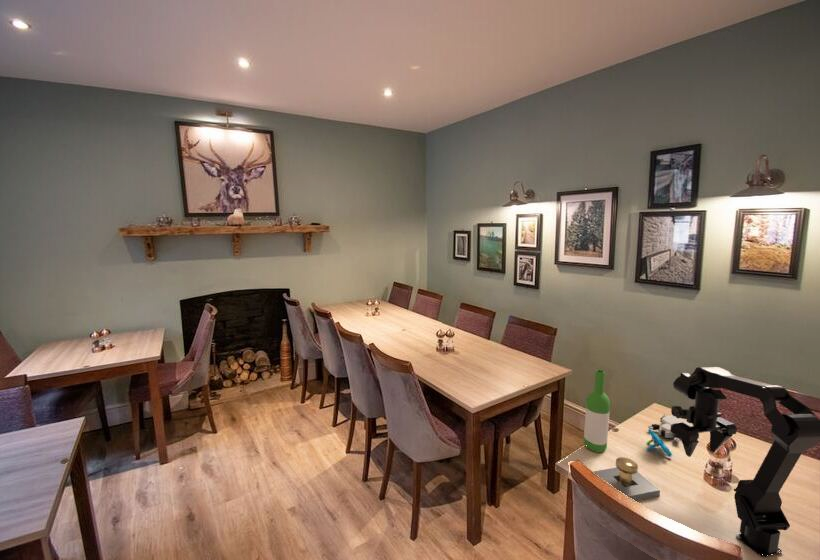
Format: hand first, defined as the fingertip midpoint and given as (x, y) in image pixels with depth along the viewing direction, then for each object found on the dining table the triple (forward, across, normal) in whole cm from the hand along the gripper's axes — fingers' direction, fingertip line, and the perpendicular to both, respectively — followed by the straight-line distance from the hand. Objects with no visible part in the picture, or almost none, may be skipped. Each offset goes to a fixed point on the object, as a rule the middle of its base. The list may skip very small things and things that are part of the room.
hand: (700, 453), depth 114 cm
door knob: (+12, +21, -6) cm, 25 cm away
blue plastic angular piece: (+12, -5, -19) cm, 23 cm away
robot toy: (+12, -20, -27) cm, 36 cm away
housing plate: (+12, +21, -6) cm, 25 cm away
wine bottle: (+12, +16, -26) cm, 33 cm away
